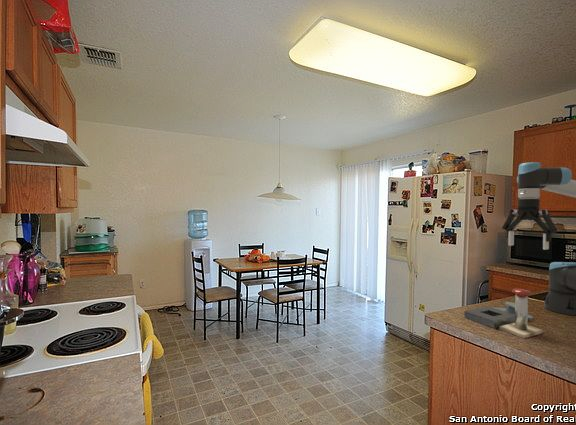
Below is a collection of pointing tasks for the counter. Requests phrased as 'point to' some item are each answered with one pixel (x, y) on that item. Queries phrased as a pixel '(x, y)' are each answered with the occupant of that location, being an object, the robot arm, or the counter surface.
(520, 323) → the red mushroom button
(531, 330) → the birch pad
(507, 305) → the shower valve
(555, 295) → the robot arm
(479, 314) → the eye plate
